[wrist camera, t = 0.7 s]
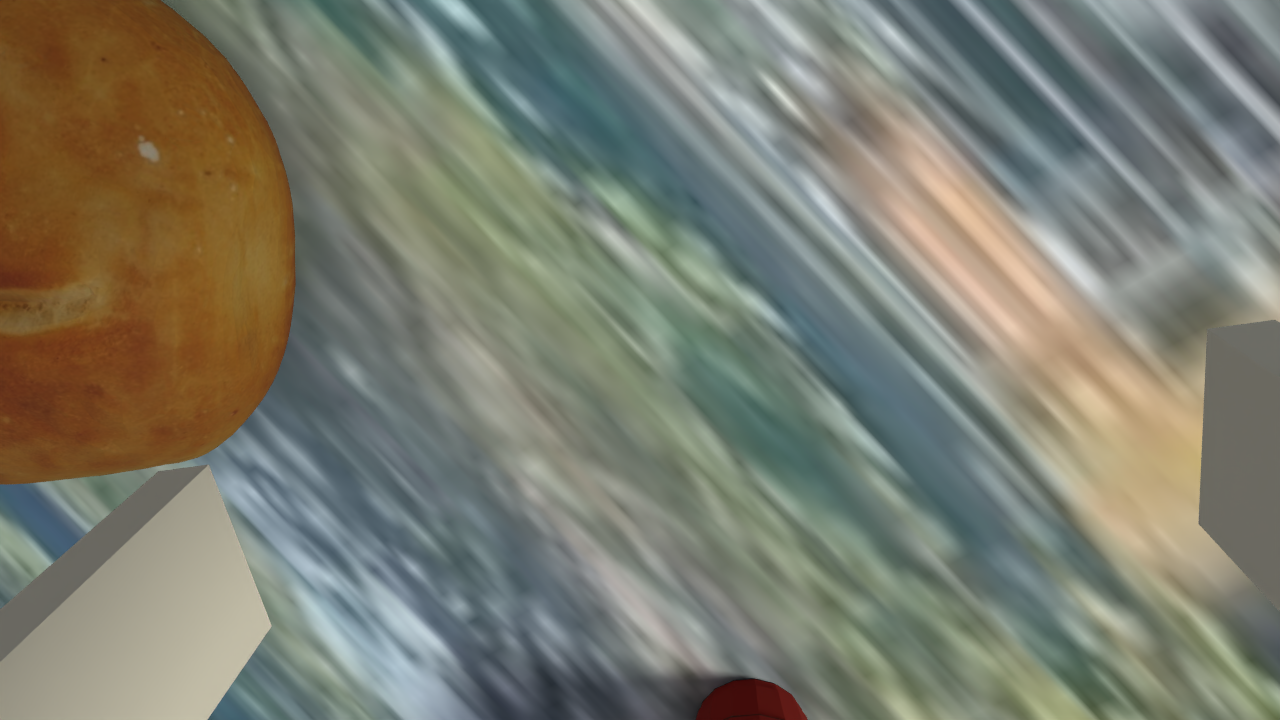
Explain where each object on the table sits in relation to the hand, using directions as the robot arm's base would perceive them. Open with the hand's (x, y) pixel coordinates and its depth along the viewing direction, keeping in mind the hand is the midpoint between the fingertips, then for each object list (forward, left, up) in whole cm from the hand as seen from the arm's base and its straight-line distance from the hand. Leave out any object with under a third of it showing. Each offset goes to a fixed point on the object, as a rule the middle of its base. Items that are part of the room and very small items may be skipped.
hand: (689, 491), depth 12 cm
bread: (-1, -28, -29) cm, 40 cm away
